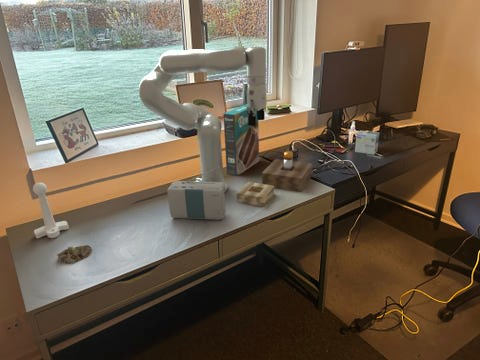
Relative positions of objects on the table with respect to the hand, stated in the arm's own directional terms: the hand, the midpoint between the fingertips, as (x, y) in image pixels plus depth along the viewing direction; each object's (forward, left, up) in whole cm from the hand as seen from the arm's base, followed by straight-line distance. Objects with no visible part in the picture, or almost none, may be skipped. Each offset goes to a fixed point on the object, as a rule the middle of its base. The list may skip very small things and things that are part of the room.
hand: (256, 122), depth 154 cm
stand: (+3, -9, -30) cm, 32 cm away
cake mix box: (-16, +21, -30) cm, 40 cm away
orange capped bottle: (+10, +12, -27) cm, 31 cm away
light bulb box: (+38, +64, -30) cm, 80 cm away
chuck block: (+10, +12, -30) cm, 34 cm away
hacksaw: (+22, +37, -31) cm, 53 cm away
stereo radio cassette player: (-12, -31, -30) cm, 45 cm away
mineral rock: (-37, -69, -31) cm, 84 cm away
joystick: (-56, -62, -30) cm, 89 cm away
